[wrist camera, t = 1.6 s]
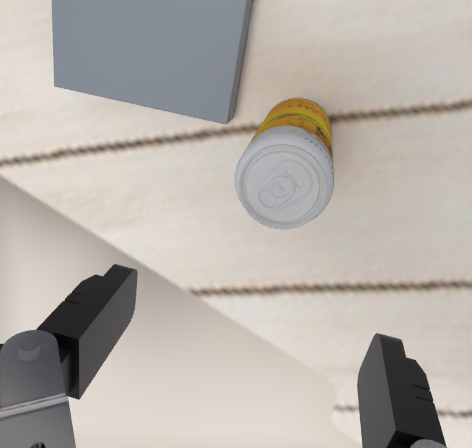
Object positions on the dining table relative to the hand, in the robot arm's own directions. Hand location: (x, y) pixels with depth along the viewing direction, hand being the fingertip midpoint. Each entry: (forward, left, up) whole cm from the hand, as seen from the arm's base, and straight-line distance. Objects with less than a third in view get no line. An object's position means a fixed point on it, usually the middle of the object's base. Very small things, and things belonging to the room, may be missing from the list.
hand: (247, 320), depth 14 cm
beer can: (0, 0, -28) cm, 28 cm away
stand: (+14, -8, -27) cm, 32 cm away
